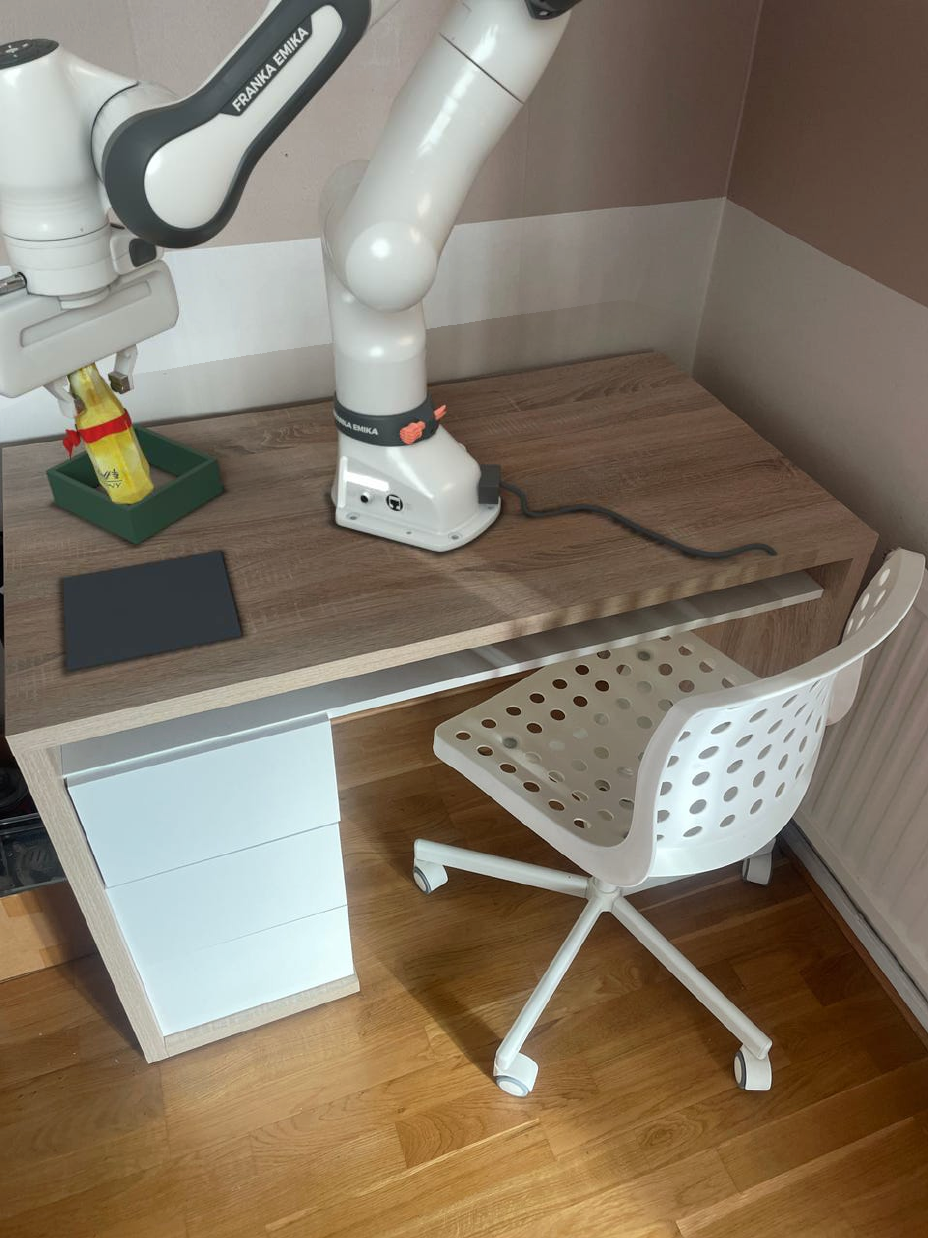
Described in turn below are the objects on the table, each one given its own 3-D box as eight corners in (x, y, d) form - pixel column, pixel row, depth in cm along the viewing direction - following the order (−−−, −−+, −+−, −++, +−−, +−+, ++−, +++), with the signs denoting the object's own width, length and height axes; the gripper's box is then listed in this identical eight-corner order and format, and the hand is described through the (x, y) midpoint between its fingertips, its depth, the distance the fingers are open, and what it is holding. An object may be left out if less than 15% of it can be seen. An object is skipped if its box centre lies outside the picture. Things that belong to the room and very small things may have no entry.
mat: (221, 552, 117) (220, 550, 117) (242, 636, 106) (241, 633, 106) (63, 580, 113) (63, 578, 112) (67, 671, 101) (66, 668, 101)
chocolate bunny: (139, 446, 104) (88, 315, 94) (164, 498, 96) (111, 362, 86) (76, 468, 102) (16, 337, 92) (96, 522, 95) (33, 386, 84)
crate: (223, 491, 127) (217, 458, 124) (136, 545, 118) (128, 510, 115) (143, 456, 134) (136, 423, 131) (55, 504, 125) (45, 470, 121)
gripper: (-20, 304, 77) (28, 457, 86) (176, 233, 90) (200, 372, 99) (-68, 286, 79) (-16, 436, 88) (129, 219, 92) (157, 355, 101)
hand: (99, 401), depth 94 cm, fingers closed on chocolate bunny, 4 cm apart
